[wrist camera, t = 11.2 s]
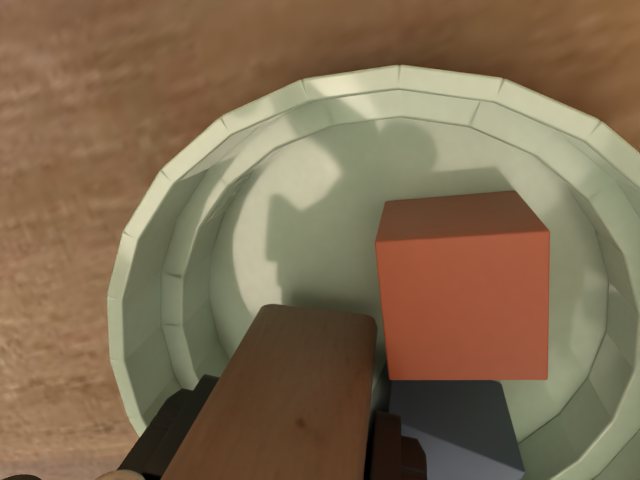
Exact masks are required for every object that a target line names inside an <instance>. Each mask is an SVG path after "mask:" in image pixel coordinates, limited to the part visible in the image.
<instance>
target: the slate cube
mask: <svg viewBox="0 0 640 480" xmlns="http://www.w3.org/2000/svg"><path fill="white" fill-rule="evenodd" d="M375 410H378V411H383V412H387V413H392V414H397V415H401V435H402V436H406V437H411V438H416V439H418V441H419V442H420V444H421V446H422V448H423V450H424V452H425V454H426V462H427V480H521V478H522V477H523V475H524V474H525V469H524V465H523V461H522V457H521V454H520V450H519V446H518V443H517V439H516V435H515V432H514V428H513V424H512V420H511V417H510V413H509V409H508V406H507V402H506V398H505V395H504V391H503V387H502V384H501V383H499V382H496V381H493V380H390V379H389V376H388V367H387V360H386V362H385V365H384V367H383V369H382V371H381V374H380V376H379V378H378V380H377V383H376V385H375V387H374V389H373V392H372V396H371V406H370V417H369V427H368V437H367V447H368V442H369V437H370V432H371V427H372V422H373V417H374V413H375ZM367 447H366V452H367Z"/></svg>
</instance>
